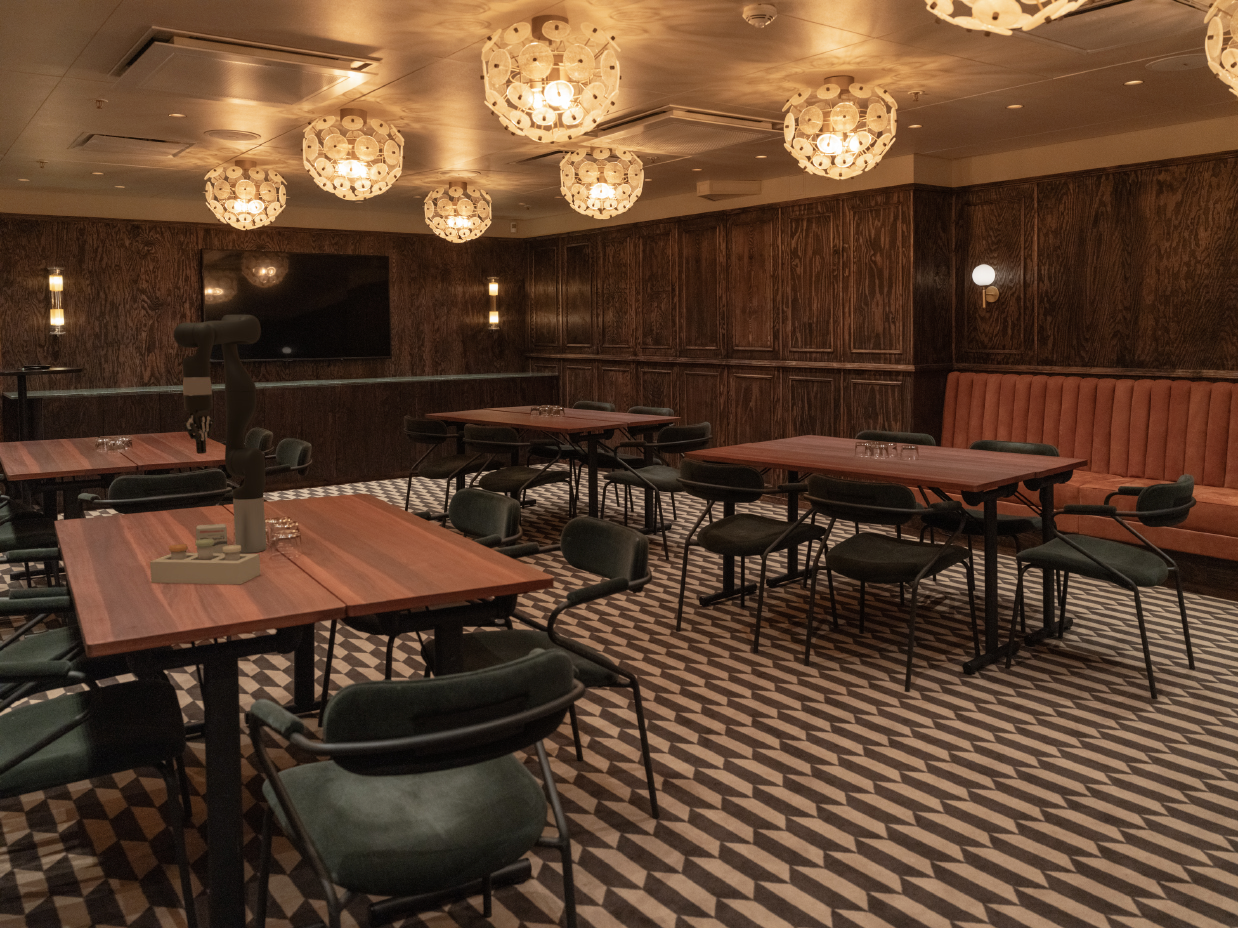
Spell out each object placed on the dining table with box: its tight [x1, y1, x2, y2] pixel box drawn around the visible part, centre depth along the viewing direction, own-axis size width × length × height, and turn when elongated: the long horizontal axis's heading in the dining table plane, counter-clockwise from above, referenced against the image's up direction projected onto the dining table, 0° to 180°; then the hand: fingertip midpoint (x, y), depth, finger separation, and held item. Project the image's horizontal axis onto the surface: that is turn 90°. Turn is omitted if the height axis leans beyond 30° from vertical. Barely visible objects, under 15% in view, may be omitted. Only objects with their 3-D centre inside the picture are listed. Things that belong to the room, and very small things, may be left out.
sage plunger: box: [195, 539, 214, 560], centre depth 278 cm, size 5×5×8 cm
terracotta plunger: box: [168, 543, 189, 560], centre depth 279 cm, size 5×5×8 cm
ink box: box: [195, 523, 228, 553], centre depth 297 cm, size 9×5×12 cm, turn 114°
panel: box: [149, 552, 261, 586], centre depth 278 cm, size 12×26×6 cm, turn 84°
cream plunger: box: [223, 544, 241, 561], centre depth 277 cm, size 5×5×8 cm
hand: (201, 453), depth 283 cm, fingers closed
